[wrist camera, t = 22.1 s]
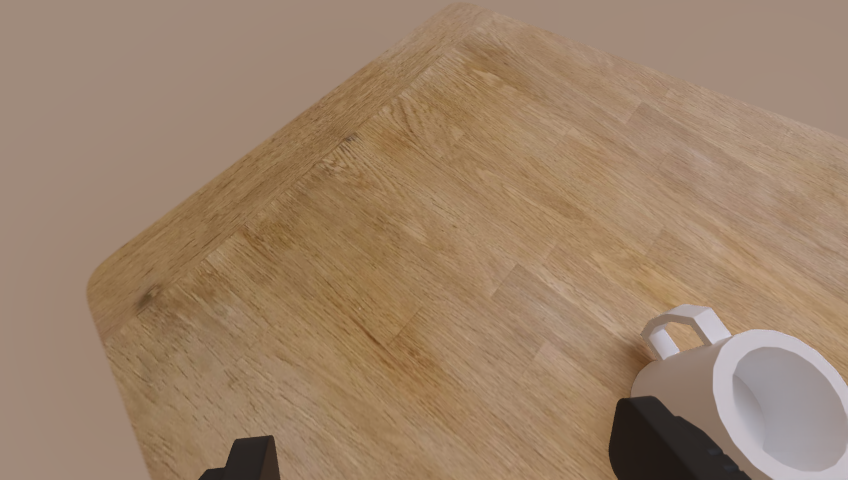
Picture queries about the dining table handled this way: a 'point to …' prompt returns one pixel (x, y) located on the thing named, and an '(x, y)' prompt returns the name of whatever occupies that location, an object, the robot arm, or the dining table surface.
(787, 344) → the mug
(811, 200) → the dining table surface
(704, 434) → the robot arm
